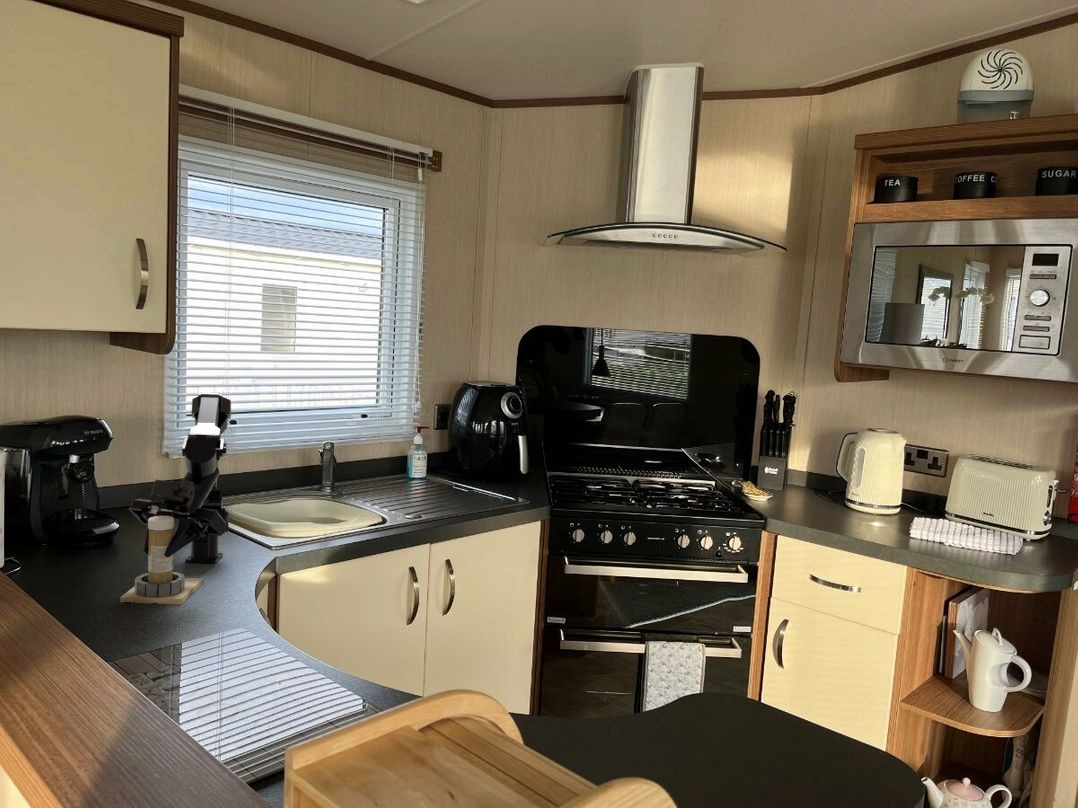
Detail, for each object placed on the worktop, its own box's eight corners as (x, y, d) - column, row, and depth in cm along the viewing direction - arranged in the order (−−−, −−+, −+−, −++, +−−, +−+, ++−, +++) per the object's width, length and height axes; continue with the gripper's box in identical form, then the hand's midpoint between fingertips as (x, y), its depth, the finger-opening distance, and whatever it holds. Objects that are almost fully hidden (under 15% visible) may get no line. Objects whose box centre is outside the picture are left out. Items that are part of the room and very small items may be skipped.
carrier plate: (147, 581, 171) (147, 571, 171) (203, 583, 172) (203, 573, 171) (120, 602, 158) (120, 591, 158) (181, 604, 159) (181, 594, 159)
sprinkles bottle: (152, 582, 165) (152, 514, 164) (176, 583, 165) (177, 515, 164) (143, 590, 160) (144, 520, 159) (168, 590, 161) (169, 520, 159)
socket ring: (145, 583, 167) (145, 570, 166) (190, 584, 167) (190, 572, 167) (127, 596, 158) (128, 583, 158) (174, 598, 159) (175, 585, 159)
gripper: (136, 458, 167) (92, 525, 157) (218, 468, 162) (177, 538, 152) (163, 490, 175) (123, 556, 166) (242, 501, 170) (205, 569, 161)
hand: (155, 554), depth 161 cm, fingers closed on sprinkles bottle, 4 cm apart
